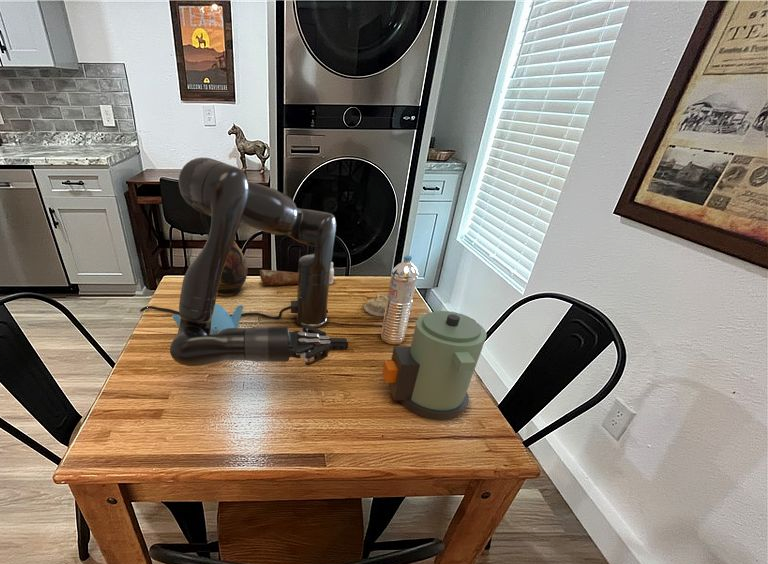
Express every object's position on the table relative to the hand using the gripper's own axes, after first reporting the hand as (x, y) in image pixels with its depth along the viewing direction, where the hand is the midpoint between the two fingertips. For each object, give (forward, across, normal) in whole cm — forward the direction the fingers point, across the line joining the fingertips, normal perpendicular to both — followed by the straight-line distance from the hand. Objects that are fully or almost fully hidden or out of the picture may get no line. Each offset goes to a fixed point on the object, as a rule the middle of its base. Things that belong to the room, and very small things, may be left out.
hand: (347, 344), depth 83 cm
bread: (-13, +66, +16) cm, 69 cm away
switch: (+11, 0, +9) cm, 14 cm away
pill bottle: (+3, +67, +16) cm, 69 cm away
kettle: (+20, +1, +15) cm, 25 cm away
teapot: (-35, +27, +15) cm, 46 cm away
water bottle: (+18, +26, +15) cm, 35 cm away
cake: (+18, +45, +16) cm, 51 cm away
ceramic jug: (-35, +59, +15) cm, 70 cm away
